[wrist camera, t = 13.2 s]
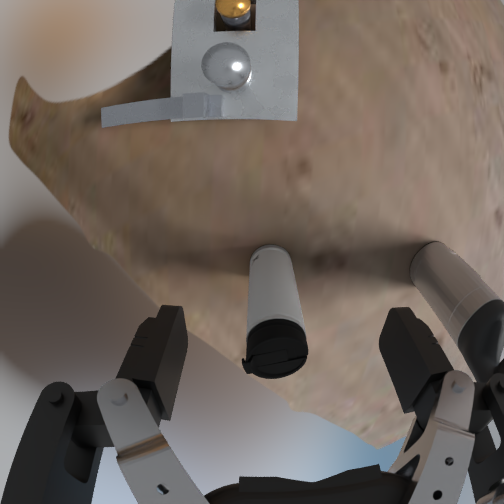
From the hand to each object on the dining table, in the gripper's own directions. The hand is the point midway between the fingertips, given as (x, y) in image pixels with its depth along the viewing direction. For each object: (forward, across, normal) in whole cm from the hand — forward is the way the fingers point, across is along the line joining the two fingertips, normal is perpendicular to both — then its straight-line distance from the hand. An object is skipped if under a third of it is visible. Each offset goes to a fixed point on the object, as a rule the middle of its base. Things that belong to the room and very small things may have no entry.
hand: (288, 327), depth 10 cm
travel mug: (+30, -1, +14) cm, 33 cm away
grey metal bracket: (+30, +8, -15) cm, 35 cm away
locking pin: (+30, +4, -20) cm, 36 cm away
